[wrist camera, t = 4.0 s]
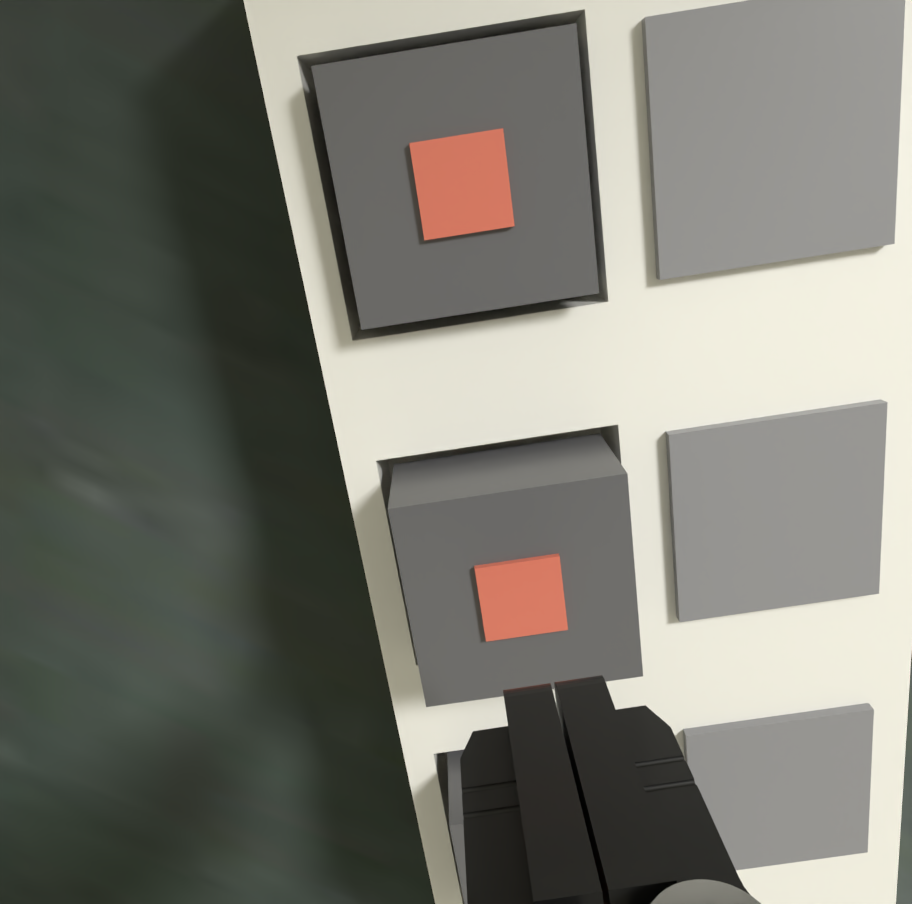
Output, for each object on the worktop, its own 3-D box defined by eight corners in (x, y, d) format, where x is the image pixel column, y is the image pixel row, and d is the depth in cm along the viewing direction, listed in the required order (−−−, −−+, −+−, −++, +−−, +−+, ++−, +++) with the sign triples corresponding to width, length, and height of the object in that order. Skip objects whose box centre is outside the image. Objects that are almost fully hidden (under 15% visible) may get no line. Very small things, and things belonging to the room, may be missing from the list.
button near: (329, 85, 15) (309, 64, 12) (554, 48, 15) (577, 21, 12) (371, 309, 16) (361, 331, 14) (575, 278, 16) (600, 294, 14)
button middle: (394, 463, 16) (387, 511, 14) (599, 433, 16) (629, 475, 13) (427, 640, 17) (426, 710, 15) (616, 612, 17) (644, 679, 15)
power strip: (252, -128, 15) (189, -240, 11) (840, -227, 15) (985, -376, 11) (448, 855, 24) (451, 987, 20) (821, 804, 24) (900, 927, 20)
